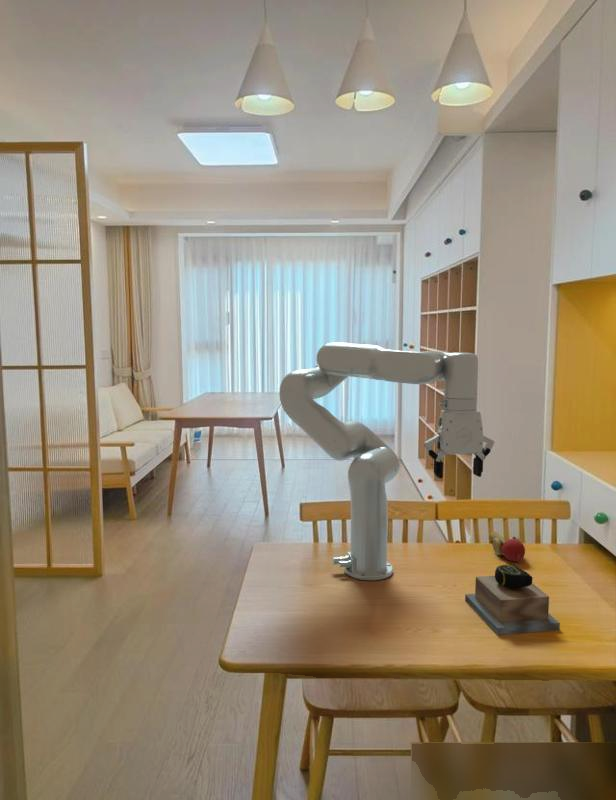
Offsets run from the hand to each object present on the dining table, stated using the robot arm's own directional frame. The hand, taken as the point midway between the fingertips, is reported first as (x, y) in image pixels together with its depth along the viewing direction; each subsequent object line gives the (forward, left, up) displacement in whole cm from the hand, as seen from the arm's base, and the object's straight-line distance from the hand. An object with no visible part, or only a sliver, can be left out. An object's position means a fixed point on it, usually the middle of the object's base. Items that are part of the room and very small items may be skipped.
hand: (458, 476), depth 140 cm
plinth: (+7, -14, -28) cm, 32 cm away
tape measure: (+8, -13, -22) cm, 27 cm away
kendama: (+24, +21, -29) cm, 43 cm away
